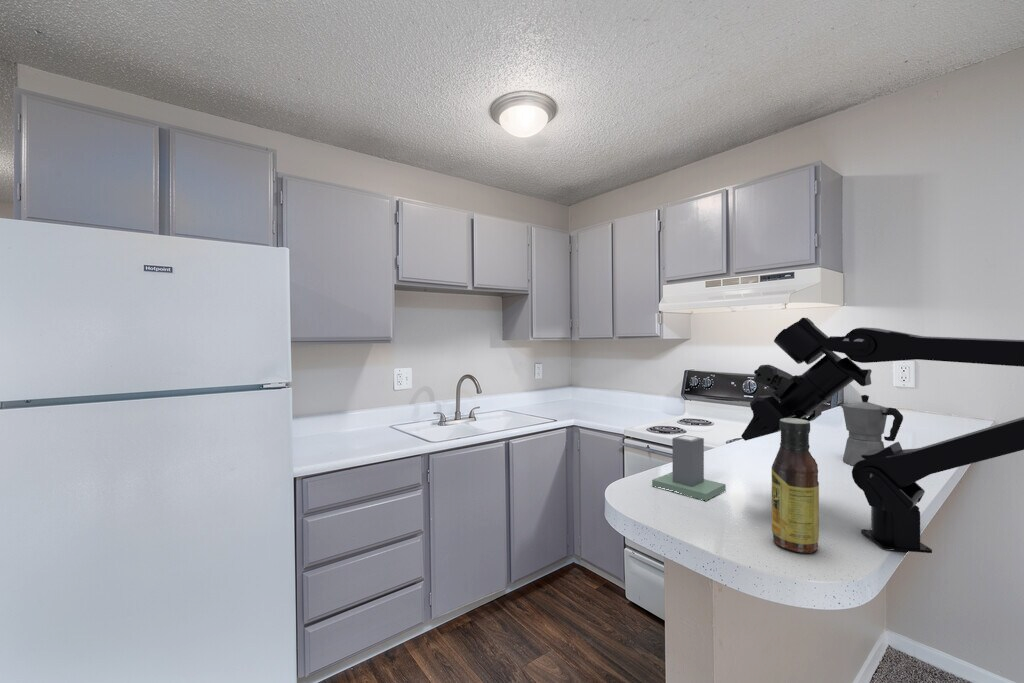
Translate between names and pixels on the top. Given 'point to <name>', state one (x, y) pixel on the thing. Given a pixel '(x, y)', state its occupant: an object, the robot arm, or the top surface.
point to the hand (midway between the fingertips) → (754, 435)
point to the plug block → (688, 460)
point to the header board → (698, 491)
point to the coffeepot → (867, 428)
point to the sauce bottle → (795, 489)
